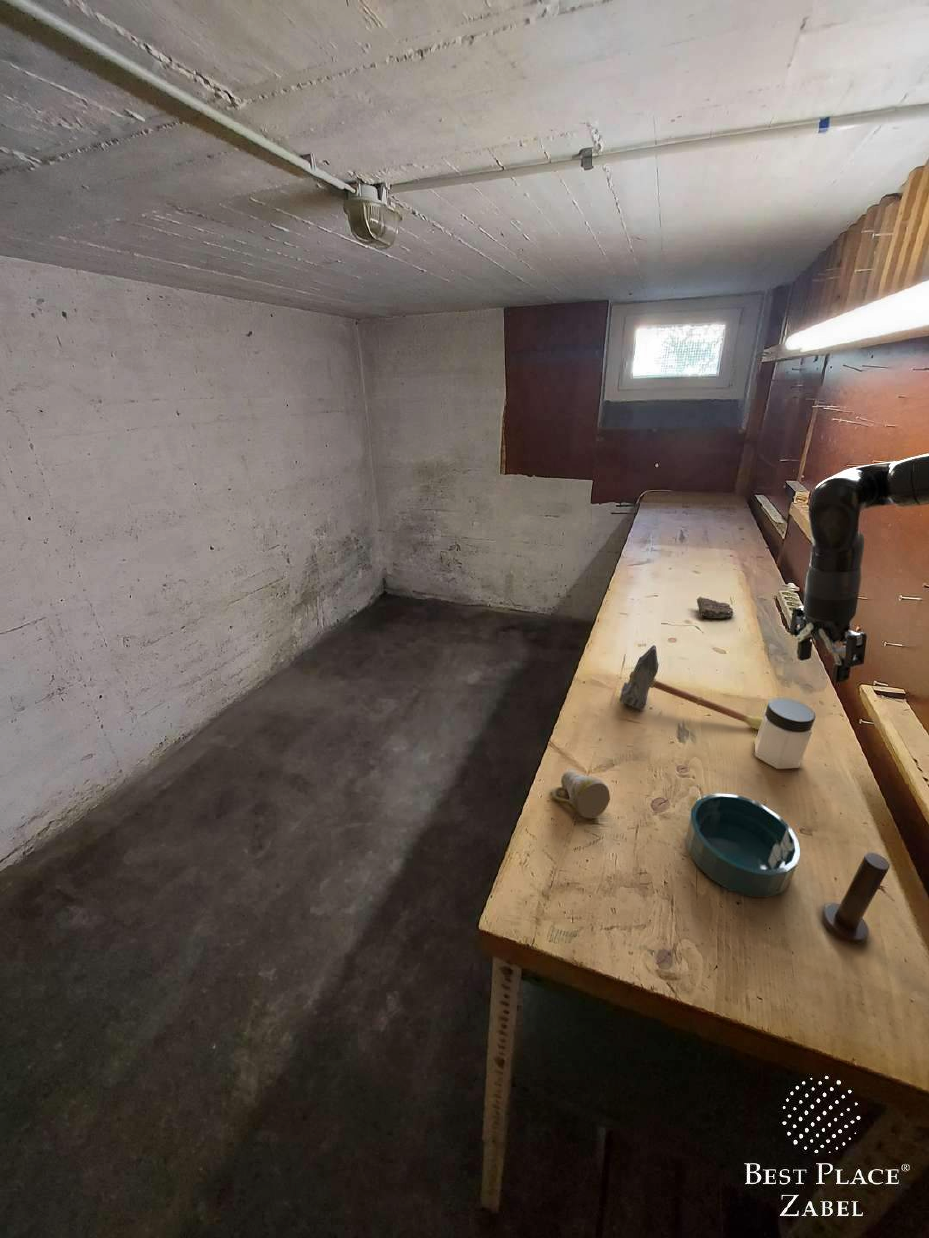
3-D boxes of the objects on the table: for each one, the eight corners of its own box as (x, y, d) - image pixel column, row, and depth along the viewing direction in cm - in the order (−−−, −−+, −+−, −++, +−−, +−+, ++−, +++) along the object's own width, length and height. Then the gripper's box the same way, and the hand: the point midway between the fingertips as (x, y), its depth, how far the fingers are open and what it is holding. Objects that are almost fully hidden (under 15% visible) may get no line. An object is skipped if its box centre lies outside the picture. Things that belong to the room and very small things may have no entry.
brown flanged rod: (833, 901, 73) (865, 838, 67) (873, 932, 69) (910, 867, 63) (814, 918, 71) (844, 854, 65) (853, 951, 67) (890, 885, 61)
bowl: (723, 805, 90) (730, 781, 87) (810, 871, 78) (821, 845, 75) (664, 840, 84) (670, 815, 81) (749, 918, 71) (759, 892, 69)
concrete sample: (694, 618, 160) (697, 604, 158) (694, 606, 168) (697, 593, 166) (733, 623, 156) (737, 609, 154) (731, 610, 164) (734, 597, 162)
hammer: (783, 701, 102) (642, 649, 110) (747, 753, 110) (618, 701, 118) (779, 686, 107) (644, 638, 114) (745, 737, 115) (621, 689, 123)
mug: (577, 775, 98) (603, 755, 91) (593, 825, 92) (622, 807, 85) (545, 777, 95) (569, 756, 88) (559, 828, 90) (586, 810, 82)
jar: (808, 760, 100) (826, 713, 95) (787, 776, 96) (805, 728, 91) (765, 736, 107) (779, 691, 102) (744, 750, 103) (757, 704, 98)
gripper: (889, 599, 77) (873, 684, 84) (820, 572, 90) (811, 648, 97) (844, 609, 77) (832, 693, 83) (781, 581, 90) (775, 656, 96)
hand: (820, 669), depth 90 cm, fingers open, 8 cm apart
